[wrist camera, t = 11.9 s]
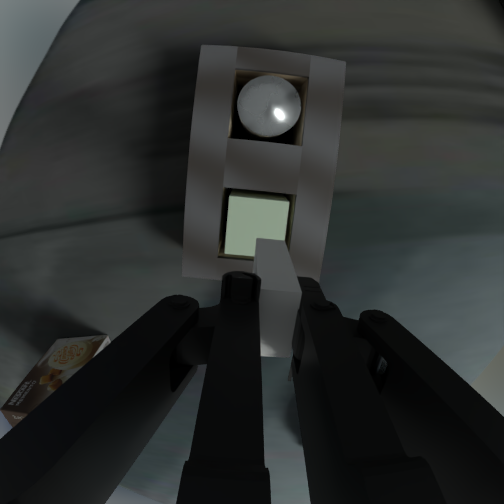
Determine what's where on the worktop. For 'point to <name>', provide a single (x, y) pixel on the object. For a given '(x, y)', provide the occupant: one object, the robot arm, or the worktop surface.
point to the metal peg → (268, 107)
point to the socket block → (261, 157)
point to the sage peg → (254, 219)
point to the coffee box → (51, 373)
